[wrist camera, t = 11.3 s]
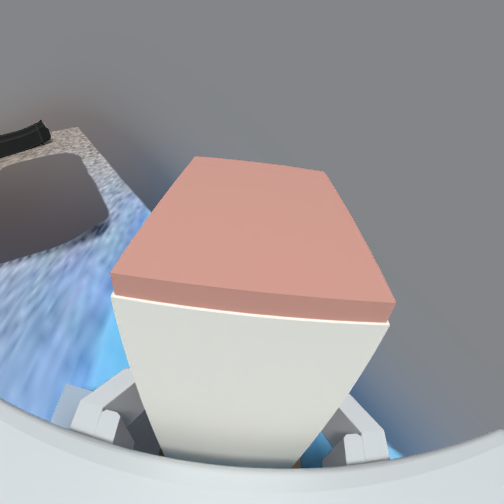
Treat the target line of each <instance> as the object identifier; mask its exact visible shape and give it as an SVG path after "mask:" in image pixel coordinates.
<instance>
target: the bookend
mask: <svg viewBox="0 0 504 504" xmlns="http://www.w3.org/2000/svg"><path fill="white" fill-rule="evenodd" d="M126 428H127V430H128V431H129V433H130V435H131V436H132V438H133V440H134V441H135V443H134V447H133V450H136V451H140V452H144V453H149V454H153V455H158V456H163V457H165V456H164V454H163V451H162V449H161V447H160V445H159V442H158V440H157V438H156V435H155V433H154V431H153V428H152V426H151V423H150V421H149V418H148V416H147V413H146V411H145V410H144V411H143V412H142V413H141V414H140V415H139V416H138V417H137V418H136V419H135V420H134V421H133V422H132V423H131V424H130V425H128V426H127V427H126Z"/></svg>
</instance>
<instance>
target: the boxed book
mask: <svg viewBox="0 0 504 504" xmlns="http://www.w3.org/2000/svg"><path fill="white" fill-rule="evenodd" d="M110 274H111V279H112V284H113V289H114V291H113V293H112V295H111V301H112V305H113V309H114V313H115V317H116V321H117V325H118V328H119V332H120V336H121V339H122V343H123V346H124V349H125V353H126V356H127V359H128V362H129V365H130V369H131V372H132V375H133V378H134V381H135V383H136V386H137V389H138V392H139V395H140V398H141V400H142V403H143V406H144V408H145V411H146V413H147V416H148V418H149V421H150V423H151V426H152V428H153V431H154V433H155V435H156V438H157V440H158V442H159V445H160V447H161V449H162V451H163V454H164V456H165V457H168V458H173V459H179V460H185V461H191V462H198V463H206V464H214V465H223V466H234V467H248V468H272V469H290V468H291V467H292V466H293V465H294V464H295V463H296V462H297V460H298V459H299V458H300V457H301V456H302V454H303V453H304V452H305V451H306V450H307V448H308V447H309V446H310V445H311V443H312V442H313V441H314V440H315V438H316V437H317V436H318V434H319V433H320V432H321V431H322V429H323V428H324V427H325V425H326V424H327V423H328V421H329V420H330V419H331V417H332V416H333V415H334V413H335V412H336V410H337V409H338V408H339V406H340V405H341V403H342V402H343V400H344V399H345V398H346V396H347V395H348V393H349V392H350V390H351V389H352V387H353V386H354V384H355V383H356V381H357V379H358V378H359V376H360V375H361V373H362V371H363V370H364V369H365V367H366V365H367V364H368V362H369V360H370V359H371V357H372V355H373V354H374V352H375V350H376V349H377V347H378V345H379V343H380V342H381V340H382V338H383V337H384V335H385V333H386V331H387V329H388V328H389V326H390V325H389V322H388V318H389V316H390V314H391V312H392V310H393V308H394V307H395V304H396V302H395V300H394V297H393V295H392V293H391V291H390V289H389V287H388V285H387V283H386V281H385V279H384V277H383V275H382V273H381V271H380V269H379V267H378V265H377V263H376V261H375V259H374V257H373V255H372V253H371V251H370V250H369V248H368V246H367V244H366V242H365V240H364V238H363V237H362V235H361V233H360V231H359V230H358V228H357V226H356V224H355V222H354V220H353V219H352V217H351V215H350V214H349V212H348V210H347V208H346V207H345V205H344V203H343V201H342V200H341V198H340V197H339V195H338V193H337V191H336V190H335V188H334V187H333V185H332V184H331V182H330V180H329V179H328V177H327V175H326V174H325V172H322V171H316V170H309V169H303V168H296V167H290V166H281V165H274V164H267V163H259V162H249V161H241V160H231V159H221V158H209V157H195V158H194V159H193V160H192V161H191V162H190V164H189V165H188V166H187V167H186V169H185V170H184V171H183V172H182V174H181V175H180V176H179V177H178V179H177V180H176V181H175V182H174V184H173V185H172V186H171V187H170V189H169V190H168V191H167V193H166V194H165V195H164V197H163V198H162V199H161V201H160V202H159V203H158V205H157V206H156V207H155V209H154V210H153V211H152V213H151V214H150V215H149V217H148V218H147V220H146V221H145V222H144V224H143V225H142V227H141V228H140V229H139V231H138V232H137V234H136V235H135V237H134V238H133V239H132V241H131V242H130V244H129V245H128V247H127V248H126V250H125V251H124V253H123V254H122V256H121V257H120V259H119V260H118V262H117V263H116V265H115V266H114V268H113V269H112V271H111V272H110Z"/></svg>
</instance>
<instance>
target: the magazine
mask: <svg viewBox="0 0 504 504" xmlns="http://www.w3.org/2000/svg"><path fill="white" fill-rule="evenodd" d="M50 138H51V135H50V132H49V130H48V128H47V126H46V124H45V122H44V124H43V123H42V120H40V121H39V122H38V123H35V124H33V125H31V126H29V127H27V128H24V129H22V130H19V131H16V132H12V133H8V134H4V135H0V157H5V156H9V155H12V154H16V153H19V152H22V151H25V150H28V149H31V148H33V147H36V146H38V145H40V144H42V145H44V144H43V143H44V142H46V141H48V140H49V139H50Z"/></svg>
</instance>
